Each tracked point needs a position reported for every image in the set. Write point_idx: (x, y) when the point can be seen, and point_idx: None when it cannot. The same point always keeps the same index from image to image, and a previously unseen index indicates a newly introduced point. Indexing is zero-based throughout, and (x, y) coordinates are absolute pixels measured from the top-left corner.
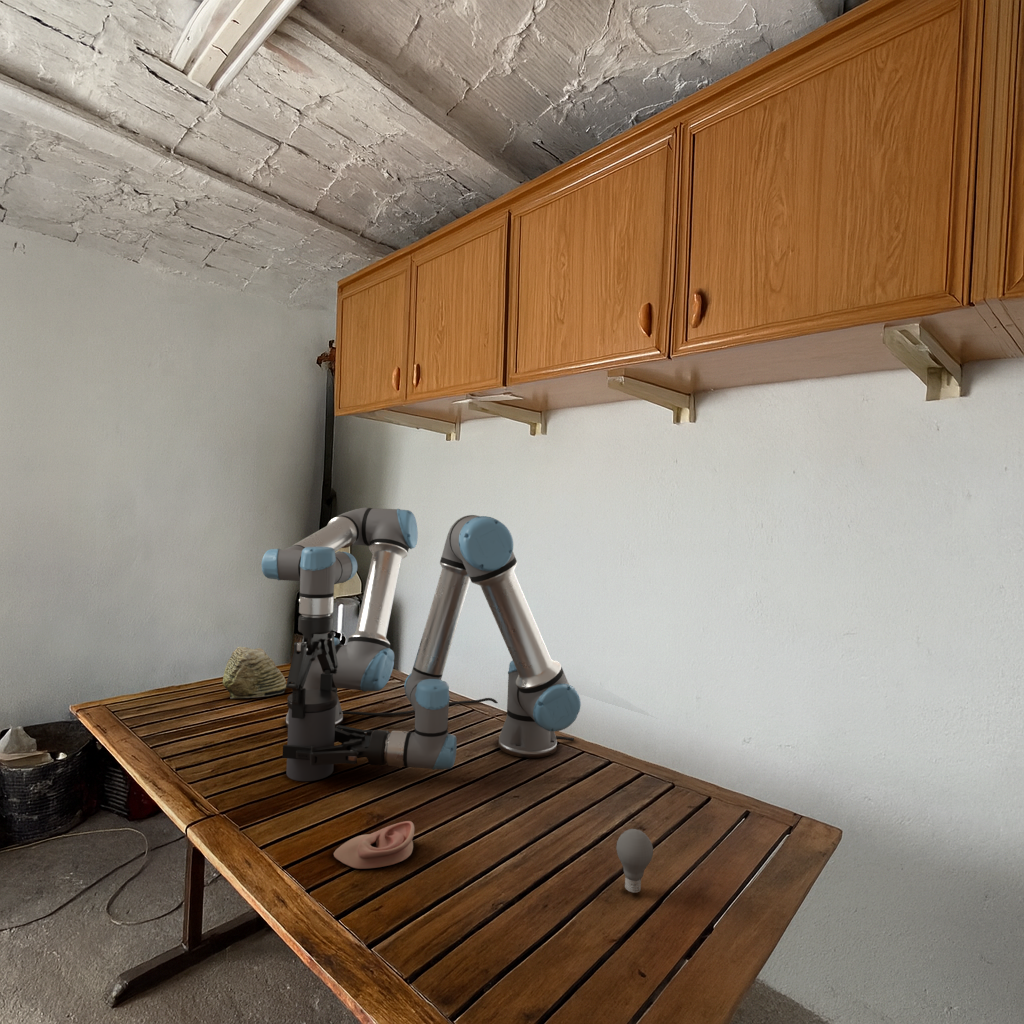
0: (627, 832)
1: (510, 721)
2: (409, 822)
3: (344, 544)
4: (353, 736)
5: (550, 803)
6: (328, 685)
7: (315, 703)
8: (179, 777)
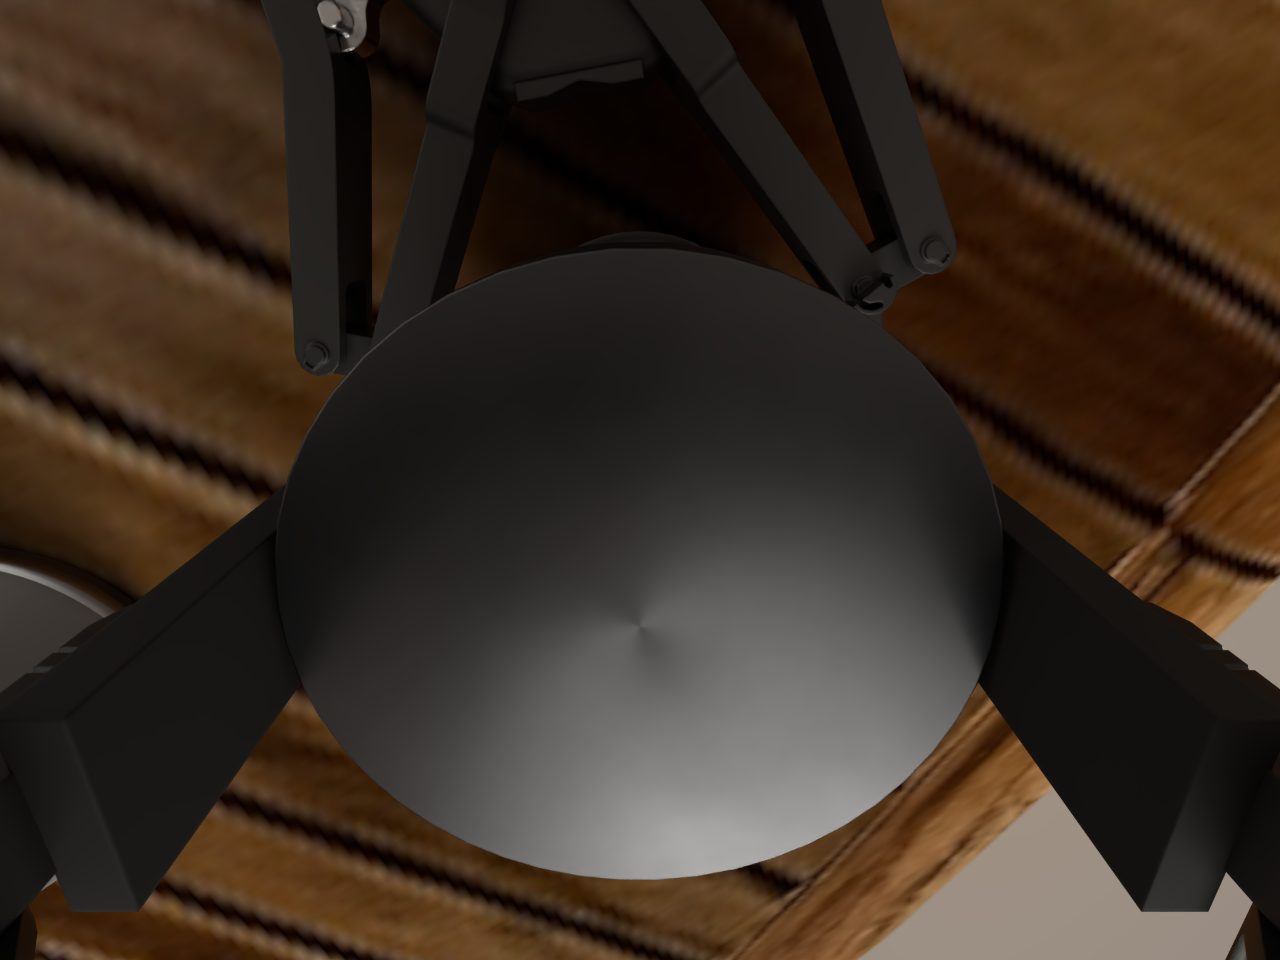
0: None
1: None
2: None
3: None
4: (491, 77)
5: None
6: (223, 621)
7: (946, 438)
8: (857, 842)
